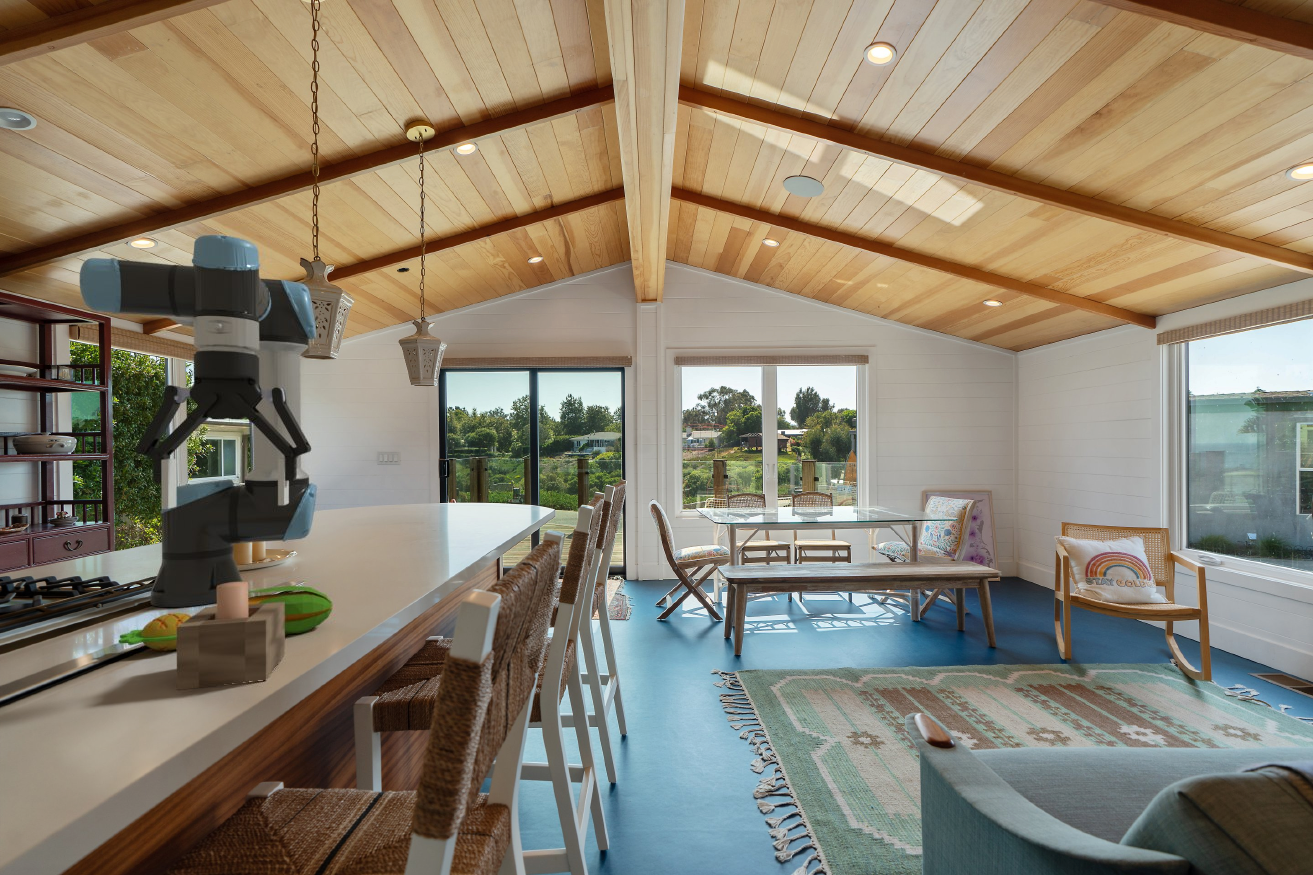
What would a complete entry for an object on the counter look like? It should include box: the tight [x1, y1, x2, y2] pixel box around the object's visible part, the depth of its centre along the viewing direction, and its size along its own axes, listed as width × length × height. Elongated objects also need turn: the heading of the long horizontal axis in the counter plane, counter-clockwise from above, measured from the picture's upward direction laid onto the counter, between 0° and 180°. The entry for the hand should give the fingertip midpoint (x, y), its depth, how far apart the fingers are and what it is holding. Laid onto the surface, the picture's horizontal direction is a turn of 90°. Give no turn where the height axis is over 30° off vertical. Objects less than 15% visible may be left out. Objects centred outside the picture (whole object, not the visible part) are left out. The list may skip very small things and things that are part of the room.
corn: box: [212, 585, 333, 635], centre depth 105 cm, size 7×8×20 cm
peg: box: [216, 581, 249, 620], centre depth 88 cm, size 4×4×12 cm
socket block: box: [176, 602, 286, 691], centre depth 88 cm, size 10×10×8 cm
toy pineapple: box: [118, 612, 193, 652], centre depth 97 cm, size 7×10×5 cm
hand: (227, 506), depth 89 cm, fingers open, 13 cm apart
